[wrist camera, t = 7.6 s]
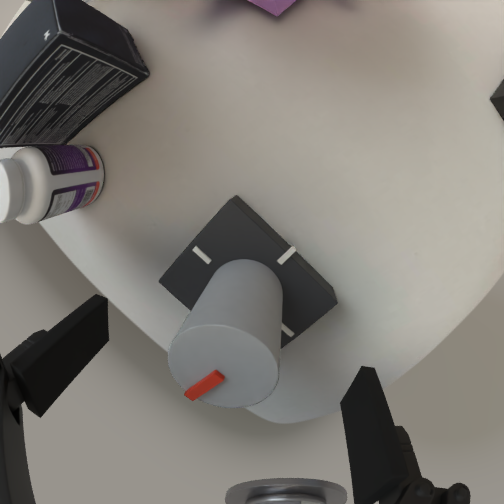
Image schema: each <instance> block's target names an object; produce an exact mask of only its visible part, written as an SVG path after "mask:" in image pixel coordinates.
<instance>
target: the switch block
mask: <svg viewBox="0 0 504 504" xmlns="http://www.w3.org/2000/svg"><path fill="white" fill-rule="evenodd" d="M490 100H491V101H492V103H493V104H494V106H495V107H496V109H497V110H498V112H499V113H500V115H501V117H502V118H503V120H504V80H503V81H502V83H501V84H500V86H499V87H498V88H497V90H496V91H495V93H494V94H493V96H492V97H491V98H490Z"/></svg>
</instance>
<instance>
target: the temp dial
mask: <svg viewBox="0 0 504 504" xmlns="http://www.w3.org/2000/svg"><path fill="white" fill-rule="evenodd" d="M282 302H283V291H282V286H281V283H280V281H279V279H278V277H277V276H276V275H275V273H274V272H273V271H272V270H271V269H270V268H268V267H267V266H265V265H264V264H262V263H260V262H257V261H254V260H248V259H239V260H233V261H230V262H228V263H226V264H224V265H223V266H221V267H220V268H219V269H218V270H217V271H216V272H215V273H214V275H213V277H212V278H211V280H210V281H209V283H208V285H207V286H206V288H205V289H204V291H203V293H202V294H201V296H200V297H199V299H198V301H197V302H196V304H195V305H194V307H193V309H192V310H191V312H190V314H189V315H188V317H187V318H186V320H185V322H184V323H183V325H182V327H181V328H180V330H179V331H178V333H177V335H176V336H175V338H174V340H173V341H172V343H171V345H170V347H169V351H168V364H169V368H170V371H171V373H172V375H173V377H174V379H175V380H176V381H177V383H178V384H179V385H180V386H181V387H182V388H183V389H184V390H185V394H184V395H185V396H186V397H188V398H189V399H190V400H192V401H194V400H195V399H199V400H200V401H203V402H205V403H207V404H211V405H214V406H218V407H224V408H242V407H247V406H251V405H254V404H257V403H259V402H261V401H263V400H264V399H265V398H267V397H268V396H269V395H270V394H271V393H272V392H273V390H274V389H275V387H276V385H277V383H278V379H279V368H280V349H281V327H282Z"/></svg>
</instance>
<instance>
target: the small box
mask: <svg viewBox="0 0 504 504" xmlns="http://www.w3.org/2000/svg"><path fill="white" fill-rule="evenodd" d="M133 41H134V40H133V38H132V37H131V35H130V33H129V32H128V30H127V29H126V28H124V27H122V26H121V25H119V24H118V23H116V22H115V21H113V20H112V19H110V18H109V17H107V16H106V15H104V14H103V13H101V12H99V11H98V10H96V9H95V8H93V7H92V6H90V5H88V4H87V3H85V2H83V1H82V0H33V1H32V2H31V3H30V4H29V5H28V6H27V7H26V9H25V10H24V11H23V12H22V13H21V14H20V15H19V16H18V18H17V19H16V20H15V21H14V22H13V24H12V25H11V26H10V27H9V28H8V30H7V31H6V32H5V34H4V35H3V36H2V38H1V39H0V148H4V147H5V148H7V147H27V146H53V145H65V144H66V143H67V142H68V141H69V140H70V139H71V138H72V137H73V136H74V135H75V134H77V133H78V132H79V131H80V130H81V129H82V128H83V127H84V126H85V125H86V124H88V123H89V122H90V121H91V120H92V119H93V118H95V117H96V116H97V115H98V114H99V113H100V112H101V111H103V110H104V109H105V108H106V107H108V106H109V105H110V104H111V103H113V102H114V101H115V100H117V99H118V98H119V97H120V96H122V95H123V94H124V93H126V92H127V91H128V90H130V89H131V88H132V87H134V86H135V85H136V84H138V83H139V82H141V81H142V80H144V79H145V78H147V77H148V74H149V71H148V69H147V67H146V66H145V65H144V63H143V60H142V59H141V57H140V55H139V53H138V51H137V48H136V46H135V44H134V42H133Z"/></svg>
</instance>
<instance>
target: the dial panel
mask: <svg viewBox="0 0 504 504" xmlns="http://www.w3.org/2000/svg"><path fill="white" fill-rule="evenodd" d="M296 250H297V249H296V248H295V247H294V246H292V247H291V246H290V245H289V244H288V243H287V242H286V241H285V240H284V239H283V238H282V237H281V236H280V235H278V234H277V233H276V232H275V231H274V230H273V229H272V228H271V227H270V226H269V225H268V224H267V223H266V222H265V221H264V220H263V219H262V218H261V217H260V216H259V215H257V214H256V213H255V212H254V211H253V210H252V209H251V208H250V207H249V206H248V205H247V204H246V203H245V202H244V201H243V200H242V199H240V198H239V197H238V196H237V195H236V196H234V197H233V198H231V199H230V200H229V201H228V202H227V203H226V204H225V205H224V206H223V207H222V208H221V209H220V211H219V212H218V213H217V214H216V215H215V216H214V217H213V218H212V219H211V221H210V222H209V223H208V224H207V225H206V226H205V227H204V228H203V230H202V231H201V232H200V233H199V234H198V235H197V236H196V237H195V239H194V240H193V241H192V242H191V243H190V244H189V245H188V247H187V248H186V249H185V250H184V251H183V252H182V254H181V255H180V256H179V257H178V258H177V259H176V261H175V262H174V263H173V264H172V265H171V267H170V268H169V269H168V270H167V271H166V272H165V274H164V275H163V276H162V277H161V278H160V280H159V283H161V284H162V285H163V286H164V287H165V288H166V289H167V290H168V291H169V292H170V293H171V294H173V295H174V296H175V297H176V298H177V299H178V300H179V301H180V302H182V303H183V304H184V305H185V306H186V307H187V308H188V309H189V310H192V309H193V307H194V305H195V304H196V302H197V301H198V299H199V297H200V296H201V294H202V293H203V291H204V289H205V288H206V286H207V285H208V283H209V281H210V280H211V278H212V277H213V275H214V273H215V272H216V271H217V270H218V269H219V268H220V267H221V266H223V265H224V264H226V263H228V262H230V261H233V260H239V259H248V260H254V261H257V262H260V263H262V264H264V265H265V266H267V267H268V268H270V269H271V270H272V271H273V272H274V273H275V275H276V276H277V277H278V279H279V281H280V283H281V286H282V291H283V302H282V327H281V349H282V348H283V347H284V346H285V345H287V344H288V343H289V342H291V341H292V340H293V339H295V338H296V337H297V336H298V335H300V334H301V333H302V332H303V331H305V330H306V329H307V328H309V327H310V326H311V325H312V324H313V323H315V322H316V321H317V320H318V319H320V318H321V317H322V316H323V315H324V314H326V313H327V312H328V311H329V310H330V309H332V308H333V307H334V306H335V305H336V304H337V303H338V301H337V298H336V295H335V293H334V290H333V287H332V286H331V285H330V284H329V283H328V282H327V281H326V280H325V279H324V278H323V277H322V276H320V275H319V274H318V273H317V272H316V271H315V270H314V269H313V268H312V267H311V266H310V265H309V264H308V263H307V262H306V261H305V260H304V259H303V258H302V257H301V256H300V255H299V254H298V253H297V252H296Z"/></svg>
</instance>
